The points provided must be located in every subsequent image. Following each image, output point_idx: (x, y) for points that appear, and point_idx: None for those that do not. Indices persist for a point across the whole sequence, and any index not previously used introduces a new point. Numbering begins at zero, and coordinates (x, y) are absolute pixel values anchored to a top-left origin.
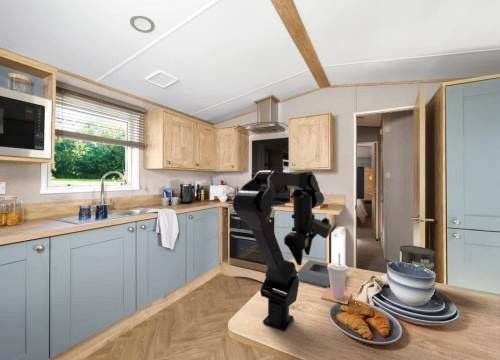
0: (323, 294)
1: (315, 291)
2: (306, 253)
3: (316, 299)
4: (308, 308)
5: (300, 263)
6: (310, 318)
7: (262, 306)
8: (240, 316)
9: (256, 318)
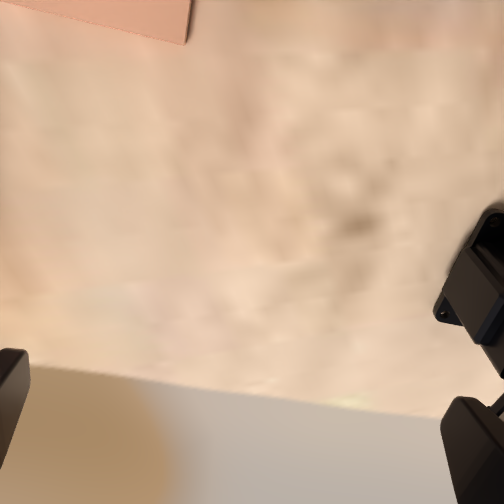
0: (129, 27)
1: (85, 96)
2: (23, 393)
3: (210, 82)
4: (352, 132)
5: (499, 424)
6: (469, 111)
7: (386, 362)
8: None
9: None
